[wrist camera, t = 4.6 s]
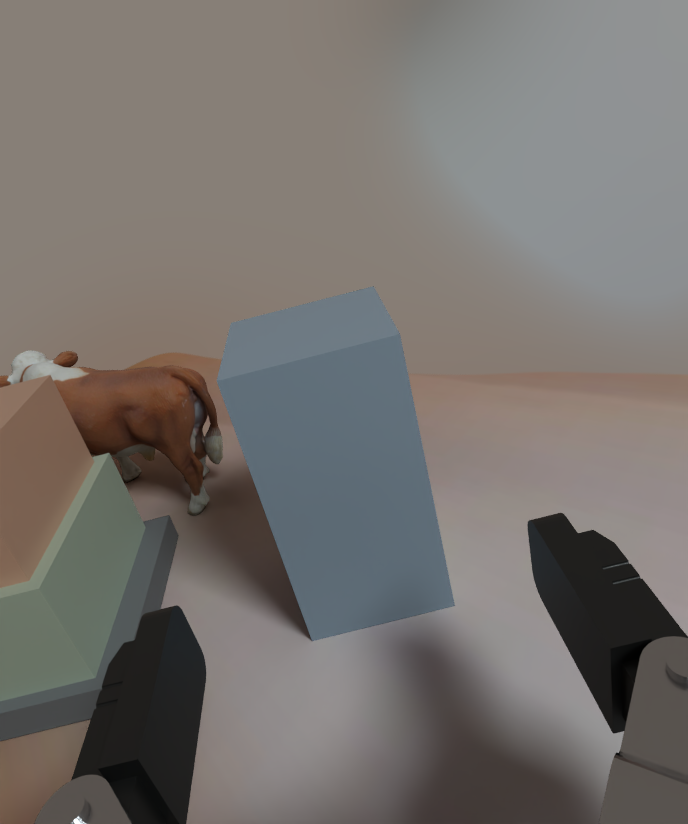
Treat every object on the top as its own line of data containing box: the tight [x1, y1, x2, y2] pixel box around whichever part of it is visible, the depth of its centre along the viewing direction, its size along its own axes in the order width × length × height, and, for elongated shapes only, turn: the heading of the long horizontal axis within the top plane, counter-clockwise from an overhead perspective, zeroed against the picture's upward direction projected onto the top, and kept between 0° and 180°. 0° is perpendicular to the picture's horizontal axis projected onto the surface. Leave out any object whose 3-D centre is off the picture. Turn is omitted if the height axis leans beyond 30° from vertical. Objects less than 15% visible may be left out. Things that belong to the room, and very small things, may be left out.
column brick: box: [217, 286, 455, 641], centre depth 20 cm, size 5×5×10 cm
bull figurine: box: [0, 351, 223, 515], centre depth 30 cm, size 4×13×8 cm, turn 63°
